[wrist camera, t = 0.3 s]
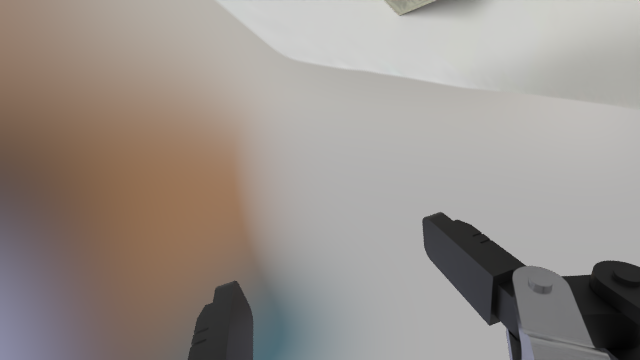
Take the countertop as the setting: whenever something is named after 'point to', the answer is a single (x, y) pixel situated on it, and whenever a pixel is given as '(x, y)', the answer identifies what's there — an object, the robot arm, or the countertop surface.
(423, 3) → the box
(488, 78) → the countertop surface
